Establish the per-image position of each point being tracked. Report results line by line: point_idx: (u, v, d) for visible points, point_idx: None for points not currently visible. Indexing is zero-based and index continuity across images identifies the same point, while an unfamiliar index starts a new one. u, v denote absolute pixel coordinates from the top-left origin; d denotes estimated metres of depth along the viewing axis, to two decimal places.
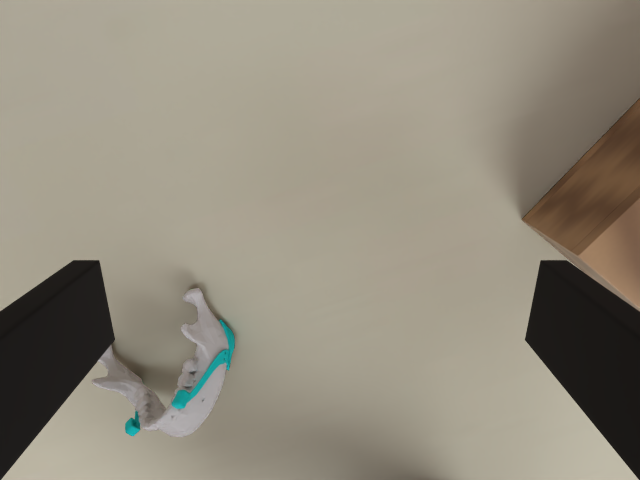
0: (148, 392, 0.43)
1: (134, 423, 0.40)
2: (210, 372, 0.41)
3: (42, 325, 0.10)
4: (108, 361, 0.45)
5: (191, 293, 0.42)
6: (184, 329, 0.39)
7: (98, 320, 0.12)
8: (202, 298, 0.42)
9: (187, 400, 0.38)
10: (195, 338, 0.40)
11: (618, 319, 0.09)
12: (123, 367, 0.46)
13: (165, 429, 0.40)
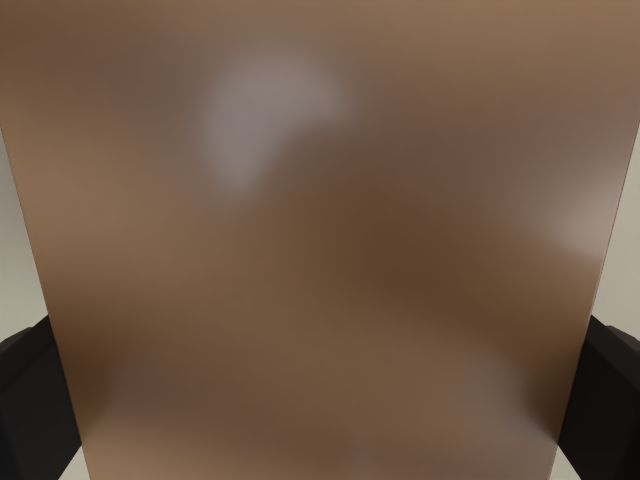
0: None
1: None
2: None
3: None
4: None
5: None
6: None
7: None
8: None
9: None
10: None
11: None
12: None
13: None
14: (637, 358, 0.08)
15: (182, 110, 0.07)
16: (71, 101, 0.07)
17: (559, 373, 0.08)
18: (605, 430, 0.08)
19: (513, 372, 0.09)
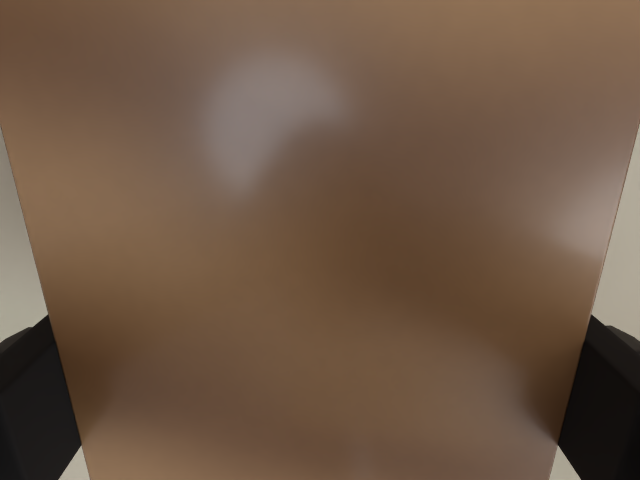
0: None
1: None
2: None
3: None
4: None
5: None
6: None
7: None
8: None
9: None
10: None
11: None
12: None
13: None
14: (637, 358, 0.08)
15: (182, 110, 0.07)
16: (71, 101, 0.07)
17: (558, 373, 0.09)
18: (605, 430, 0.08)
19: (513, 372, 0.09)
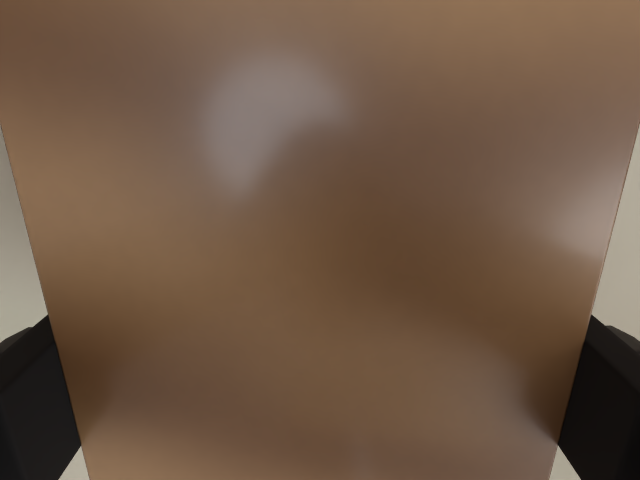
0: None
1: None
2: None
3: None
4: None
5: None
6: None
7: None
8: None
9: None
10: None
11: None
12: None
13: None
14: (637, 358, 0.08)
15: (183, 110, 0.07)
16: (71, 101, 0.07)
17: (559, 373, 0.08)
18: (605, 430, 0.08)
19: (513, 372, 0.09)
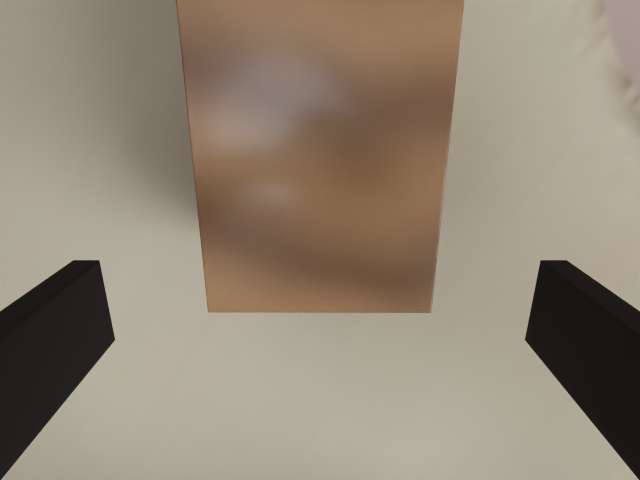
0: None
1: None
2: None
3: (42, 325, 0.10)
4: None
5: None
6: None
7: (98, 320, 0.12)
8: None
9: None
10: None
11: (618, 319, 0.09)
12: None
13: None
14: None
15: (263, 97, 0.16)
16: (217, 93, 0.16)
17: (432, 222, 0.18)
18: None
19: (410, 222, 0.18)
